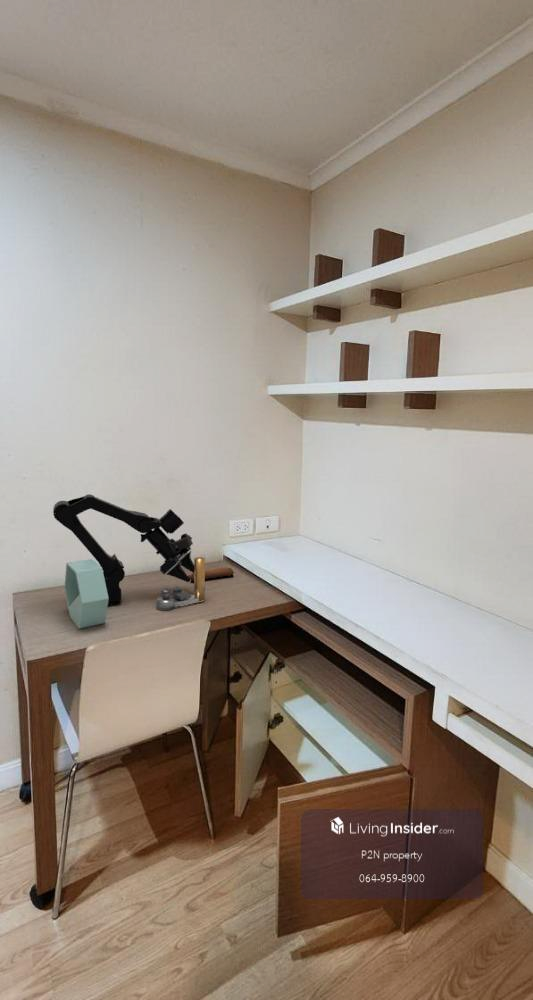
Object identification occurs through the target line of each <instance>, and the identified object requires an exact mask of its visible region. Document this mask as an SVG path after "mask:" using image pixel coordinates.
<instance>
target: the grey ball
mask: <svg viewBox="0 0 533 1000" xmlns="http://www.w3.org/2000/svg"><path fill="white" fill-rule="evenodd" d="M160 593H161V596H162V599H163V600H168V599H170V596H171V594H170V593H172V588H169V587H162V588H160Z"/></svg>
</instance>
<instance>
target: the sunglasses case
mask: <svg viewBox="0 0 533 1000" xmlns="http://www.w3.org/2000/svg"><path fill="white" fill-rule="evenodd" d="M233 574H234V575H235V571H234V569H233V568H232V567H226V566H219V567H213V568H205V579H206V580H210V579H209V578H213V579H216V578H215V577H220V578H223V577H222V576H228V575H233ZM187 575H188V577H189V579H190V580H191V581H194V573H193V572H191V573H189V574H187ZM228 577H229V576H228Z"/></svg>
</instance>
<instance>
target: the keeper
mask: <svg viewBox="0 0 533 1000" xmlns="http://www.w3.org/2000/svg"><path fill="white" fill-rule="evenodd" d="M191 595H192V594H191V593H189V592H188V591H187V590H184V589H182V588H181V587H178V586H177V587H172V588H171V596H173V597H175V598H178V599H180V600H183V599H187V598H191Z"/></svg>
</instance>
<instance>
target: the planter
mask: <svg viewBox="0 0 533 1000" xmlns="http://www.w3.org/2000/svg"><path fill="white" fill-rule="evenodd" d="M65 566H66V567H65V575H64V586H63V587H64V594H65V599H66V603H67V608H68V609H67V610H68V613H69V614H68V615H69V618H70V619H71V620H72V622H73V623H74V624H75V625H76V626H77V628H78V629H84V628H89V627H93V626H98V625H102V624H105V623H106V619H107V612H108V607H109V606H108V600H109V598H108V593H107V588H106V584H105V579H104V574H103V570H102V567H101V566H100V564H99V563H98V562H96V561H95V560H94V559H92V558H90V559H81V560H75V561H69V562H66V565H65Z"/></svg>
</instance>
